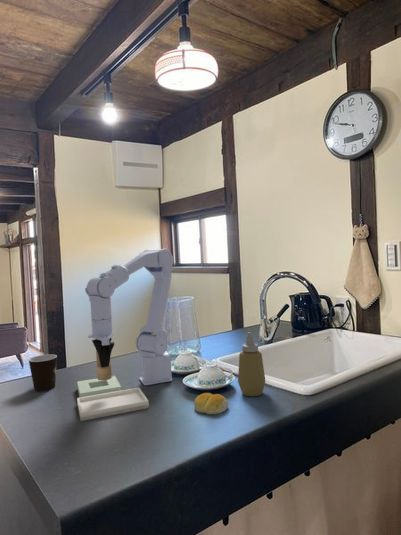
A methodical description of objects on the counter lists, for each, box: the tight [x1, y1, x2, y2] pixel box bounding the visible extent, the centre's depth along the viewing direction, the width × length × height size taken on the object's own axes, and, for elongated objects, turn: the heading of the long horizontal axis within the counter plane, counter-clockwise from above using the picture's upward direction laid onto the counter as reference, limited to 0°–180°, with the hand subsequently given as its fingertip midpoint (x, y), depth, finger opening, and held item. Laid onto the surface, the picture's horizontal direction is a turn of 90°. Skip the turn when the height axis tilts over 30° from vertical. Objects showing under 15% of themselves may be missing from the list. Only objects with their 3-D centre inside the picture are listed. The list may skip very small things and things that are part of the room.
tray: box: [76, 387, 150, 422], centre depth 109 cm, size 18×12×2 cm, turn 111°
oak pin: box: [95, 350, 113, 380], centre depth 114 cm, size 4×4×8 cm
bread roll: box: [193, 392, 229, 415], centre depth 104 cm, size 8×9×4 cm
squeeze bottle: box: [237, 331, 266, 397], centre depth 114 cm, size 8×8×18 cm
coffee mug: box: [28, 354, 58, 393], centre depth 129 cm, size 12×9×10 cm
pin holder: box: [76, 375, 122, 398], centre depth 121 cm, size 12×12×2 cm
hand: (104, 364), depth 114 cm, fingers closed on oak pin, 4 cm apart
